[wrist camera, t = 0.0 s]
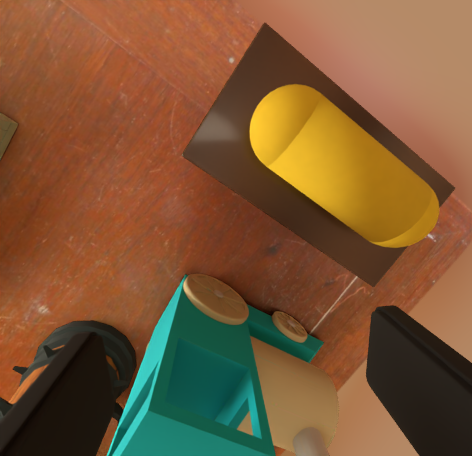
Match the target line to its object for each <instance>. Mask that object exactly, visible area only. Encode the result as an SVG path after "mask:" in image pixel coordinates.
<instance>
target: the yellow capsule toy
mask: <svg viewBox="0 0 472 456" xmlns="http://www.w3.org/2000/svg"><path fill="white" fill-rule="evenodd" d="M250 141H251V145H252V148H253V150H254V153H255V155H256V156H257V157H258V159H259V160H260V161H261V162H262V163H263V164H264V165H265V166H266V167H268V168H269V169H270V170H272V171H273V172H275V173H276V174H277V175H279V176H280V177H281V178H283V179H284V180H286V181H287V182H288V183H290V184H291V185H292V186H294V187H295V188H296V189H298V190H299V191H301V192H302V193H303V194H305V195H306V196H307V197H309V198H310V199H312V200H313V201H314V202H316V203H317V204H318V205H320V206H321V207H322V208H324V209H325V210H327V211H328V212H329V213H331V214H332V215H333V216H335V217H336V218H337V219H339V220H340V221H342V222H343V223H344V224H346V225H347V226H348V227H350V228H351V229H353V230H354V231H355V232H357V233H358V234H359V235H361V236H362V237H363V238H365V239H366V240H368V241H370V242H371V243H373V244H376V245H379V246H383V247H390V248H399V247H405V246H409V245H412V244H414V243H417V242H418V241H420V240H422V239H423V238H424V237H426V236H427V235H428V234H429V233H430V232H431V231H432V229H433V228H434V226H435V224H436V222H437V219H438V216H439V201H438V199H437V196H436V194H435V192H434V191H433V189H432V188H431V187H430V186H429V185H428V184H427V183H426V182H425V181H424V180H423V179H421V178H420V177H419V176H418V175H417V174H415V173H414V172H413V171H412V170H411V169H410V168H408V167H407V166H406V165H405V164H404V163H402V162H401V161H400V160H399V159H398V158H397V157H395V156H394V155H393V154H392V153H391V152H390V151H388V150H387V149H386V148H385V147H384V146H382V145H381V144H380V143H379V142H378V141H377V140H375V139H374V138H373V137H372V136H371V135H369V134H368V133H367V132H366V131H365V130H364V129H362V128H361V127H360V126H359V125H358V124H356V123H355V122H354V121H353V120H352V119H351V118H349V117H348V116H347V115H346V114H345V113H343V112H342V111H341V110H340V109H339V108H338V107H336V106H335V105H334V104H333V103H332V102H330V101H329V100H328V99H327V98H326V97H325V96H323V95H322V94H321V93H320V92H318V91H317V90H315V89H314V88H311V87H309V86H306V85H299V84H292V85H285V86H282V87H279V88H277V89H275V90H274V91H272V92H270V93H269V94H268V95H267V96H265V97H264V98H263V99H262V101H261V102H260V103H259V104H258V106H257V108H256V109H255V111H254V113H253V116H252V119H251V123H250Z"/></svg>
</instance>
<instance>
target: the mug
mask: <svg viewBox="0 0 472 456" xmlns="http://www.w3.org/2000/svg"><path fill="white" fill-rule="evenodd" d="M82 332H96V333H97V335H98V336H102V338H103V342H104V347H105V353H106V358H107V363H108V368H109V374H110V379H111V384H112V390H113V395H114V400H115V401H116V399H117V398H118V397H119V396H120V395H121V393H122V392H124V391H125V390H126V389H127V388H128V386H129V384H130V381H131V378H132V376H133V373H134V371H135V368H136V358H135V350H134V349H133V347H132V346H131V344H130V342H129V341H128V339H127V337H126V336H124V335H123V334H122V333H120V332H119V331H118V330H116V329H115V328H113V327H112V326H109V325H106V324H103V323H99V322H96V321H74V322H71V323H69V324H66V325H64V326H62V327H59V328H57V329H56V330H55V331H54V332H53V333H52V334H51V335H50V336H49V337H48V338H47V339H46V340H45V341H44V342H43V343H42V344H41V345H40V346H39V347H38V350H37V354H36V356H35V358H34V362H33V363H32V364H31V365H30V366H29V367H28V368H26V367H18V366H15V367H14V368H13V370H15V371H16V372H18V373H20V374H22V377H21V381H20V385H19V388H18V390H17V391H16V393H15V394H14V395H13V397H12V398H11V399H10V401H9V402H7V401H6V400H4V399H2V398H1V397H0V421H1V419H2V418H3V417H4V416H5V415H6V414H7V412H8V411H9V410H10V409H11V408H12V407H13V405H14V404H15V403H16V402H17V401H18V399H19V398H20V397H21V396H22V395H23V394H24V392H25V391H26V390H27V389H28V388H29V387H30V385H31V384H32V383H33V382H34V381H35V380H36V378H37V377H38V376H39V375H40V374H41V372H42V371H43V370H44V369H45V368H46V367H47V365H48V364H49V363H50V362H51V361H52V360H53V358H54V357H55V356H56V355H57V354H58V352H59V351H60V350H61V349H62V348H63V347H64V345H65V344H66V343H67V342H68V341H69V340H70V338H71V337H72V336H73V335H74V334H76V333H82ZM127 401H128V400H127ZM123 411H124V410H123V409H122V408H121V406H120V405H119V404H118V403H116V402H115V407H114V412H113V415H112V417H113V418H115V419H116V420H117V421H118V425H119V422H120V419H121V417H122V414H123ZM118 425H117V426H118Z"/></svg>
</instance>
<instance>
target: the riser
mask: <svg viewBox="0 0 472 456" xmlns="http://www.w3.org/2000/svg"><path fill="white" fill-rule="evenodd" d="M292 84H299V85H306V86H309V87H311V88H314V89H315V90H317V91H318V92H320V93H321V94H322V95H323V96H325V97H326V98H327V99H328V100H329V101H330V102H332V103H333V104H334V105H335V106H336V107H338V108H339V109H340V110H341V111H342V112H343V113H345V114H346V115H347V116H348V117H349V118H351V119H352V120H353V121H354V122H355V123H356V124H358V125H359V126H360V127H361V128H362V129H364V130H365V131H366V132H367V133H368V134H369V135H371V136H372V137H373V138H374V139H375V140H377V141H378V142H379V143H380V144H381V145H382V146H384V147H385V148H386V149H387V150H388V151H390V152H391V153H392V154H393V155H394V156H395V157H397V158H398V159H399V160H400V161H401V162H402V163H404V164H405V165H406V166H407V167H408V168H410V169H411V170H412V171H413V172H414V173H415V174H417V175H418V176H419V177H420V178H421V179H423V180H424V181H425V182H426V183H427V184H428V185H429V186H430V187H431V188H432V189H433V191H434V192H435V194H436V196H437V199H438V201H439V208H440V207H441V205H442V204H443V203H444V202H445V201H446V199H447V198H448V197H449V196H450V194H451V193H452V192H453V191H454V189H455V187H454V186H453V185H451V184H450V183H449V182H448V181H447V180H446V179H445V178H443V177H442V176H441V175H440V174H439V173H437V171H435V170H434V169H433V168H432V167H431V166H430V165H428V164H427V163H426V162H425V161H424V160H423V159H422V158H420V157H419V156H418V155H417V154H416V153H415V152H413V151H412V150H411V149H410V148H409V147H408V146H407V145H405V144H404V143H403V142H402V141H401V140H400V139H398V138H397V137H396V136H395V135H394V134H393V133H392V132H391V131H389V130H388V129H387V128H386V127H385V126H383V125H382V124H381V123H380V122H379V121H378V120H376V118H374V117H373V116H372V115H371V114H370V113H369V112H367V111H366V110H365V109H364V108H363V107H362V106H361V105H359V104H358V103H357V102H356V101H355V100H354V99H353V98H351V97H350V96H349V95H348V94H347V93H346V92H345V91H343V90H342V89H341V88H340V87H339V86H338V85H336V84H335V83H334V82H333V81H332V80H331V79H330V78H328V77H327V76H326V75H325V74H324V73H323V72H321V71H320V70H319V69H318V68H317V67H316V66H315V65H313V64H312V63H311V62H310V61H309V60H308V59H306V58H305V57H304V56H303V55H302V54H301V53H300V52H299V51H297V50H296V49H295V48H294V47H293V46H291V45H290V44H289V43H288V42H287V41H286V40H284V39H283V38H282V37H281V36H280V35H279V34H278V33H277V32H276V31H274V30H273V29H272V28H271V27H269V25H267V24H266V23H264V24H263V25H262V27H261V28H260V30H259V32H258V33H257V35H256V36H255V38H254V40H253V41H252V43H251V44H250V46H249V48H248V49H247V51H246V52H245V54H244V56H243V57H242V59H241V60H240V62H239V64H238V65H237V67H236V68H235V70H234V72H233V73H232V75H231V76H230V78H229V80H228V81H227V83H226V84H225V86H224V88H223V89H222V91H221V92H220V94H219V96H218V97H217V99H216V100H215V102H214V104H213V105H212V107H211V108H210V110H209V112H208V113H207V115H206V116H205V118H204V120H203V121H202V123H201V124H200V126H199V128H198V129H197V131H196V132H195V134H194V136H193V137H192V139H191V140H190V142H189V144H188V145H187V147H186V148H185V150H184V152H183V153H182V156H183V157H184V158H186V159H187V160H189V161H190V162H192V163H193V164H195V165H196V166H197V167H199V168H200V169H202V170H203V171H205V172H206V173H208V174H209V175H211V176H212V177H213V178H215V179H216V180H218V181H219V182H221V183H222V184H224V185H225V186H227V187H228V188H230V189H231V190H232V191H234V192H235V193H237V194H238V195H240V196H241V197H243V198H244V199H246V200H247V201H248V202H250V203H251V204H253V205H254V206H256V207H257V208H259V209H260V210H262V211H263V212H265V213H266V214H267V215H269V216H270V217H272V218H273V219H275V220H276V221H278V222H279V223H281V224H282V225H283V226H285V227H286V228H288V229H289V230H291V231H292V232H294V233H295V234H297V235H298V236H300V237H301V238H302V239H304V240H305V241H307V242H308V243H310V244H311V245H313V246H314V247H316V248H317V249H318V250H320V251H321V252H323V253H324V254H326V255H327V256H329V257H330V258H332V259H333V260H335V261H336V262H337V263H339V264H340V265H342V266H343V267H345V268H346V269H348V270H349V271H351V272H352V273H353V274H355V275H356V276H358V277H359V278H361V279H362V280H364V281H365V282H367V283H368V284H370V285H371V286H372V287H375V286H376V284H377V283H378V282H379V281H380V280H381V278H382V277H383V276H384V275H385V273H386V272H387V271H388V270H389V269H390V267H391V266H392V265H393V264H394V263H395V261H396V260H397V259H398V258H399V256H400V255H401V254H402V253H403V252H404V250H405V249H406V248H407V247H408V246H405V247H399V248H390V247H383V246H379V245H376V244H373V243H371V242H370V241H368V240H366V239H365V238H363V237H362V236H361V235H359V234H358V233H357V232H355V231H354V230H353V229H351V228H350V227H348V226H347V225H346V224H344V223H343V222H342V221H340V220H339V219H337V218H336V217H335V216H333V215H332V214H331V213H329V212H328V211H327V210H325V209H324V208H322V207H321V206H320V205H318V204H317V203H316V202H314V201H313V200H312V199H310V198H309V197H307V196H306V195H305V194H303V193H302V192H301V191H299V190H298V189H296V188H295V187H294V186H292V185H291V184H290V183H288V182H287V181H286V180H284V179H283V178H281V177H280V176H279V175H277V174H276V173H275V172H273V171H272V170H270V169H269V168H268V167H266V166H265V165H264V164H263V163H262V162H261V161H260V160H259V159H258V157H257V156H256V155H255V153H254V150H253V148H252V145H251V141H250V123H251V119H252V116H253V113H254V111H255V109H256V108H257V106H258V104H259V103H260V102H261V101H262V99H263V98H264V97H265V96H267V95H268V94H269V93H270V92H272V91H274V90H275V89H277V88H279V87H282V86H285V85H292Z"/></svg>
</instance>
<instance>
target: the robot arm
mask: <svg viewBox="0 0 472 456" xmlns="http://www.w3.org/2000/svg"><path fill="white" fill-rule="evenodd" d="M366 377H367V381H368V384H369V386H370V387H371V389H372V390H373V391H374V393H375V394H376V396H377V397H378V398H379V400H380V401H381V403H382V404H383V405H384V407H385V408H386V409H387V411H388V412H389V414H390V415H391V417H392V418H393V419H394V420H395V422H396V423H397V425H398V426H399V428H400V429H401V430H402V432H403V433H404V435H405V436H406V438H407V439H408V440H409V442H410V443H411V445H412V446H413V447H414V449H415V450H416V452H417V453H418V454H419V456H472V363H471V362H470V361H468V360H467V359H466V358H464V357H463V356H462V355H460V354H459V353H458V352H456V351H455V350H454V349H452V348H451V347H450V346H448V345H447V344H446V343H445V342H443V341H442V340H441V339H439V338H438V337H437V336H435V335H434V334H433V333H431V332H430V331H429V330H427V329H426V328H425V327H423V326H422V325H421V324H419V323H418V322H416V321H415V320H414V319H413V318H411V317H410V316H409V315H407V314H406V313H405V312H403V311H402V310H401V309H399V308H398V307H396V306H382V307H377V308H376V310H375V311H374V312H372V315H371V325H370V336H369V347H368V358H367V369H366ZM114 407H115V400H114V395H113V390H112V384H111V379H110V374H109V368H108V363H107V358H106V353H105V347H104V342H103V338H102V336H98V335H97V333H96V332H82V333H76V334H74V335H73V336H72V337H71V338H70V340H69V341H68V342H67V343H66V344H65V345H64V347H63V348H62V349H61V350H60V351H59V352H58V354H57V355H56V356H55V357H54V358H53V360H52V361H51V362H50V363H49V364H48V365H47V367H46V368H45V369H44V370H43V371H42V372H41V374H40V375H39V376H38V377H37V378H36V380H35V381H34V382H33V383H32V384H31V385H30V387H29V388H28V389H27V390H26V391H25V392H24V394H23V395H22V396H21V397H20V398H19V399H18V401H17V402H16V403H15V404H14V405H13V407H12V408H11V409H10V410H9V411H8V412H7V414H6V415H5V416H4V417H3V418H2V419H1V421H0V456H96V454H97V452H98V449H99V447H100V444H101V442H102V439H103V437H104V435H105V432H106V430H107V427H108V425H109V423H110V420H111V418H112V415H113V412H114Z"/></svg>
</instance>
